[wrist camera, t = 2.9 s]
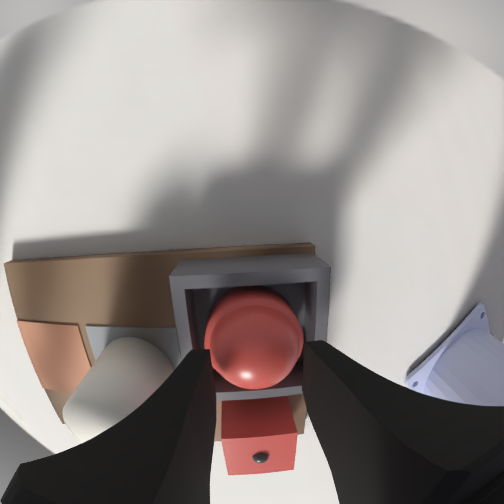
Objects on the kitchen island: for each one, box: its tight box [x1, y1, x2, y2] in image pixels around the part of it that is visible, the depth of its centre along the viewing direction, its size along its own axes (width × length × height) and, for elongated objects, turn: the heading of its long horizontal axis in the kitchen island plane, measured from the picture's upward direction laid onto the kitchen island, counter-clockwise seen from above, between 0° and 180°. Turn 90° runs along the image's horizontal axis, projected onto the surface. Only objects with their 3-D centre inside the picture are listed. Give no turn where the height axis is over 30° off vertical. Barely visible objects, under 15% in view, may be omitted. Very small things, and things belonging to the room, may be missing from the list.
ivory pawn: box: [62, 337, 173, 444], centre depth 11 cm, size 4×4×5 cm
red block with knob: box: [221, 396, 298, 475], centre depth 12 cm, size 3×3×4 cm
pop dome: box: [204, 285, 303, 389], centre depth 10 cm, size 4×4×3 cm
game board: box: [4, 243, 315, 441], centre depth 13 cm, size 17×12×1 cm
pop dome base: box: [169, 253, 331, 401], centre depth 12 cm, size 6×6×2 cm
